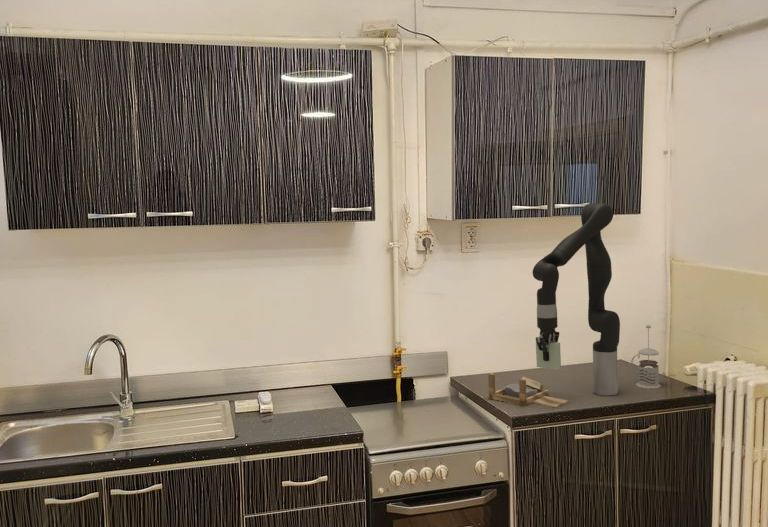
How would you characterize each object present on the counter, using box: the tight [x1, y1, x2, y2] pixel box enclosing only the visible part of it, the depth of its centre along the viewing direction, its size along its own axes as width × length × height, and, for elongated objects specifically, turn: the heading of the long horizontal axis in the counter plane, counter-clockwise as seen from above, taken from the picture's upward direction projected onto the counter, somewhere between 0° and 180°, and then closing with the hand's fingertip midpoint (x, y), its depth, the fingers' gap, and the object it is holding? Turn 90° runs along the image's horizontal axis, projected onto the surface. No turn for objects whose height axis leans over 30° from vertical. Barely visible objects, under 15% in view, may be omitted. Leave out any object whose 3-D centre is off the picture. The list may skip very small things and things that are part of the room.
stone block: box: [504, 383, 539, 398], centre depth 279 cm, size 12×5×10 cm
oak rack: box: [487, 372, 550, 407], centre depth 276 cm, size 18×16×10 cm
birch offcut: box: [521, 376, 545, 393], centre depth 282 cm, size 6×8×2 cm
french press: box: [630, 324, 662, 389], centre depth 286 cm, size 10×12×25 cm
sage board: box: [535, 341, 562, 371], centre depth 267 cm, size 3×9×10 cm, turn 45°
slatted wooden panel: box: [532, 395, 569, 408], centre depth 268 cm, size 9×10×1 cm
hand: (548, 359), depth 267 cm, fingers closed on sage board, 2 cm apart
